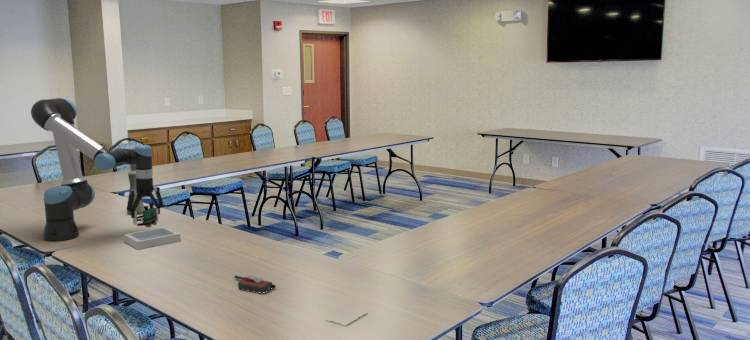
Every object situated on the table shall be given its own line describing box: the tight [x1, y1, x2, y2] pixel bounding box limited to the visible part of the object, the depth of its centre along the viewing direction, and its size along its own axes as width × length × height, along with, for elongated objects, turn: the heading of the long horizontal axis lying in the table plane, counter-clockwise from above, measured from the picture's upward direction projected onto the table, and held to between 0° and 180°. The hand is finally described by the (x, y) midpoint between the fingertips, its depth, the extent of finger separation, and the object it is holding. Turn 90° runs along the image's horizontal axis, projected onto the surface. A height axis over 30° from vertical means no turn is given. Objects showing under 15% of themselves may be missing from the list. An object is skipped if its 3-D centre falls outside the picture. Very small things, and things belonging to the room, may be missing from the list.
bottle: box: [126, 165, 145, 215], centre depth 326 cm, size 9×9×28 cm
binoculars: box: [136, 202, 157, 228], centre depth 289 cm, size 9×11×10 cm
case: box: [123, 226, 181, 250], centre depth 277 cm, size 16×20×4 cm
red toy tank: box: [234, 275, 276, 293], centre depth 223 cm, size 9×4×20 cm
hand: (146, 222), depth 290 cm, fingers closed on binoculars, 10 cm apart
